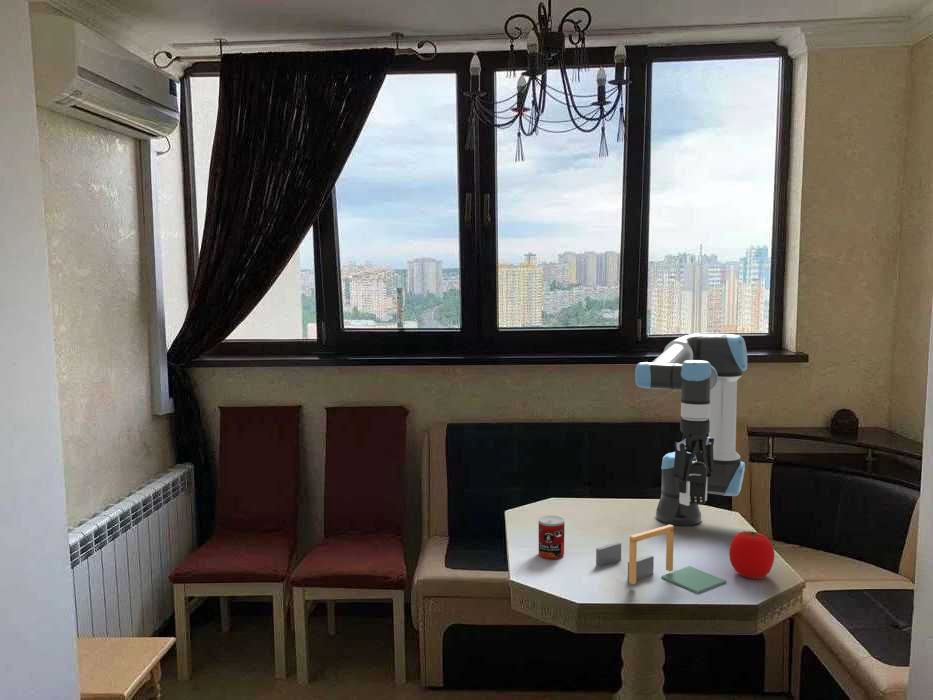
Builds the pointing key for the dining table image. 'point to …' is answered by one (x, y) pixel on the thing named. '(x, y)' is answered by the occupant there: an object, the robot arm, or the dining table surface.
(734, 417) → the robot arm
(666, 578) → the mat
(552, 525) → the canned food
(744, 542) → the tomato
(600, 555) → the clip
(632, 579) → the arched handle
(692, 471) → the battery charger
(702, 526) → the dining table surface
